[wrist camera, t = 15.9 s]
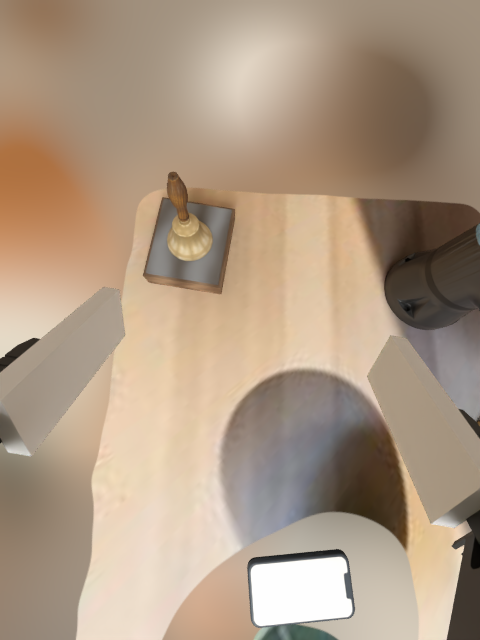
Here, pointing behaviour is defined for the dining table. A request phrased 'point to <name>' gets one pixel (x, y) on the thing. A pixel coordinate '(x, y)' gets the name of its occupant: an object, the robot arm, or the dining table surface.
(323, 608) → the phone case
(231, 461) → the dining table surface
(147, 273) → the walnut stand
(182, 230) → the hand bell
